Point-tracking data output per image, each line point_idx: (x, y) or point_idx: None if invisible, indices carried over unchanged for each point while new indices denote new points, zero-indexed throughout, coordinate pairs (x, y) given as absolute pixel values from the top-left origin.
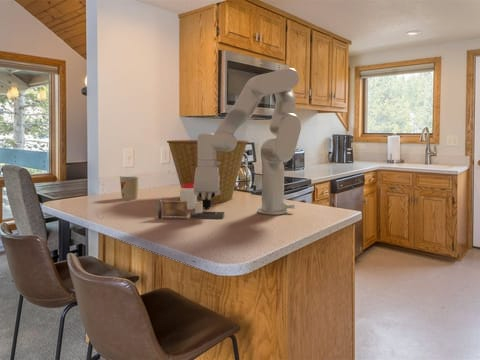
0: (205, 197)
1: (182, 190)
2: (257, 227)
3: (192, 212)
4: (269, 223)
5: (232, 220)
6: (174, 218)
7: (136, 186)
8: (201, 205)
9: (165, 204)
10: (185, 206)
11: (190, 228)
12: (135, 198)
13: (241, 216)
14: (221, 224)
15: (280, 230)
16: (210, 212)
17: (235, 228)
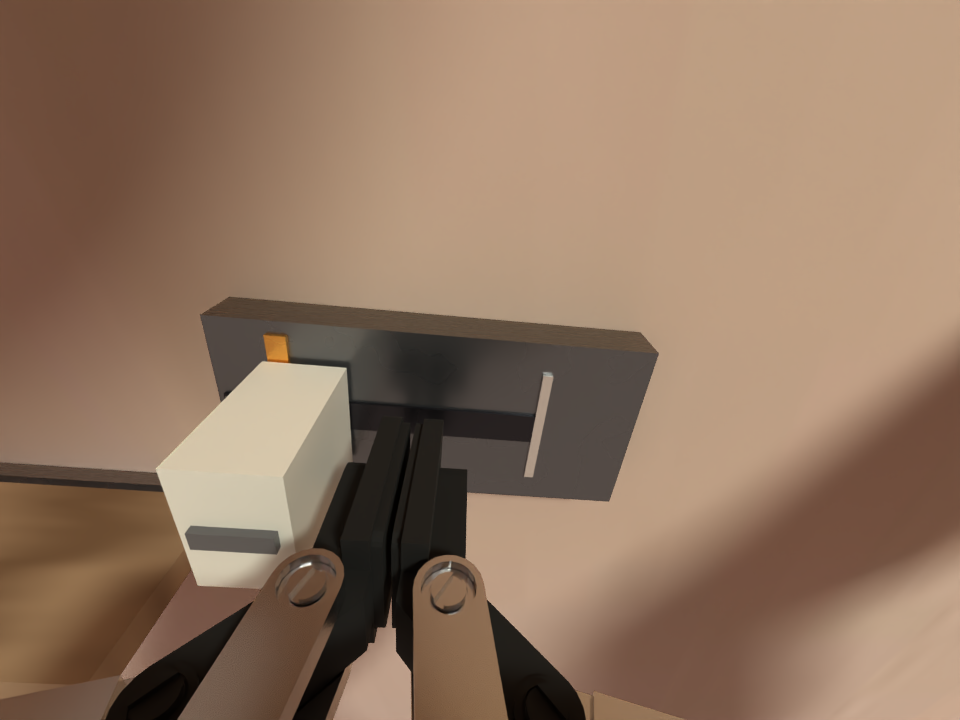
0: (348, 650)
1: None
2: (791, 664)
3: (220, 387)
4: (939, 595)
5: (677, 524)
6: (110, 488)
7: None
8: (317, 499)
9: None
10: (137, 627)
11: (363, 681)
12: None
13: (833, 376)
14: (565, 617)
15: (893, 702)
16: (463, 387)
17: (644, 679)
